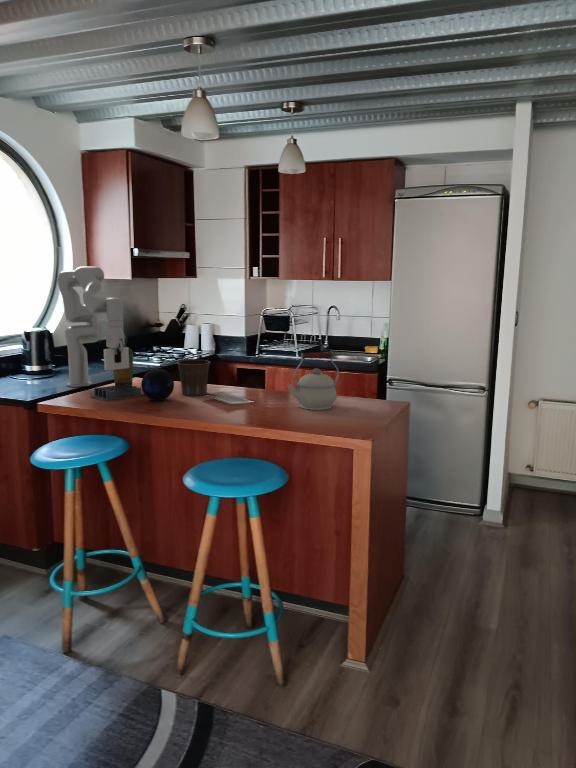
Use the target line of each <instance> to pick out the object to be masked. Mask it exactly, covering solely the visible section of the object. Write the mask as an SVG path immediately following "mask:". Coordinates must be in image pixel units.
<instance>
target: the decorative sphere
mask: <svg viewBox="0 0 576 768" xmlns="http://www.w3.org/2000/svg"><path fill="white" fill-rule="evenodd" d="M140 385H141V386H140V387H141V392H143V393H144V394H145V395H144V396H145V397H147V398H148V399H150V400H152V401H156V402H157V401H158V402H159V401H164V400H166V399H167V398H168V397H170V396H171V395H172V394H173V391H174V388H175V381H174V379H173V375H172V374H170V373H169V371H167V370H165V369H163V368H154V369H150V370H148V371H147V372H146V373H145V374H144V375H143V377H142V379H141V384H140Z"/></svg>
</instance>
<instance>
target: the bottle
mask: <svg viewBox="0 0 576 768" xmlns="http://www.w3.org/2000/svg"><path fill="white" fill-rule="evenodd" d="M127 342H128V337H127V336H126V334H125V333H124V347H127V348H128V350H129V368H125V369H116V370H112V371H113V379H114V386H115V385H123V384H128V385H133V379H134V378H133V376H134V375H133V372H134V370H133V369H134V351H133V349H132V348H130V347H128V346H127ZM124 347H123V348H124ZM117 348H119V347H117Z"/></svg>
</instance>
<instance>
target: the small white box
mask: <svg viewBox="0 0 576 768" xmlns="http://www.w3.org/2000/svg"><path fill="white" fill-rule="evenodd" d="M127 347H128V346H126V347H124V348H123V349H124V350H123V351H122V354H121V362H120V363H115V356H114V355H115V348H112V349H110V348H105V349H103V365H104V366H103V367H104V371H113V370H116V369H125V368H129V350H128V348H129V347H128V348H127ZM117 350H118V349H117Z"/></svg>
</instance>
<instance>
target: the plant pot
mask: <svg viewBox="0 0 576 768" xmlns="http://www.w3.org/2000/svg"><path fill="white" fill-rule="evenodd" d="M176 363H177V365H178V366H177V367H178V371H179V377H180V378H179V379H180V388H181V394H182V395H184V396H187V397H197V396H204V395H207V392H208V377H209V370H210V364H211V361H210V360H206V359H185V360H180V361H179V360H178V361H177V362H176Z"/></svg>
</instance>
